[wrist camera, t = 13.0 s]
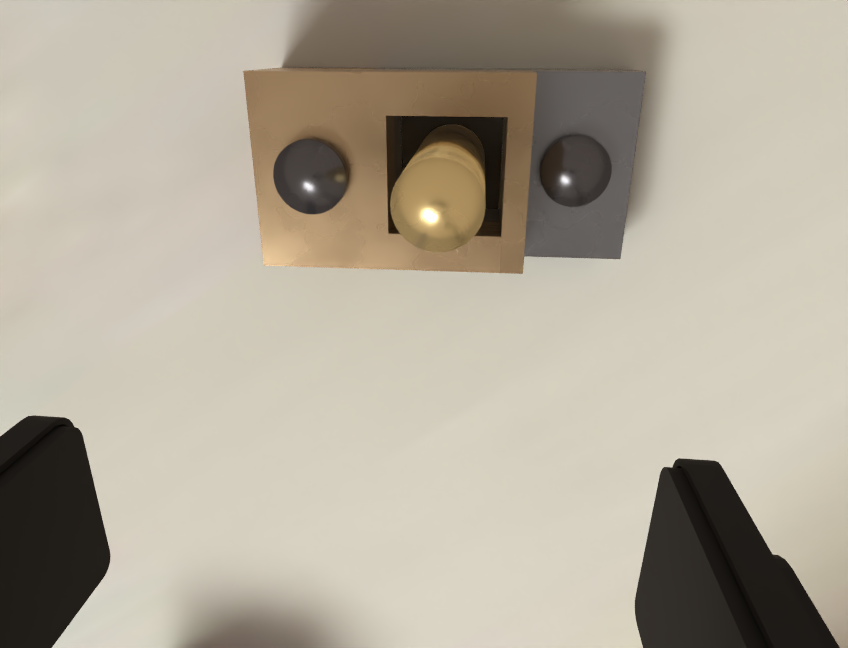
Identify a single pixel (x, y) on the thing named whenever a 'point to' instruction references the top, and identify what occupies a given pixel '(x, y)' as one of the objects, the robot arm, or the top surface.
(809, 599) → the robot arm
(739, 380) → the top surface
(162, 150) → the top surface
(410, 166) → the pin
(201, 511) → the top surface
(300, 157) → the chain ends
